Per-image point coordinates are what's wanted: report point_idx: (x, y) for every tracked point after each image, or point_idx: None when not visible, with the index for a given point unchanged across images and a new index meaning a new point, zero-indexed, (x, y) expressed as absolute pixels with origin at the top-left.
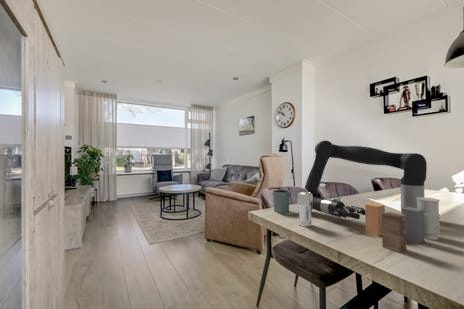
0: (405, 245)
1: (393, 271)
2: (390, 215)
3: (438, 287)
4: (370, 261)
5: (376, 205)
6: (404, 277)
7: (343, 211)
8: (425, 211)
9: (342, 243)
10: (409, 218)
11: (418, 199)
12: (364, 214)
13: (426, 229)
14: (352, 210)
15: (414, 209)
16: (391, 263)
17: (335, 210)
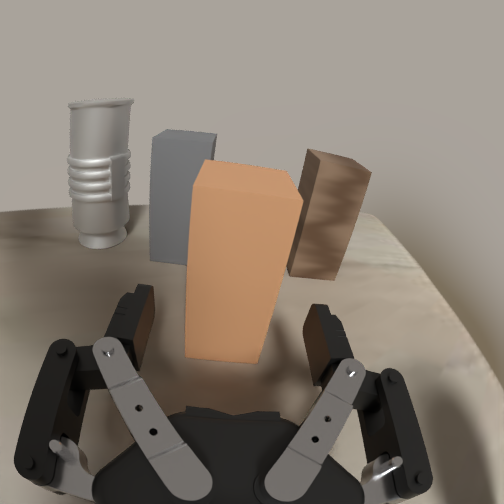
0: None
1: (398, 248)
2: (360, 165)
3: (368, 220)
4: (416, 272)
5: (259, 173)
6: (393, 239)
7: (390, 398)
8: (127, 142)
9: (436, 340)
10: None
11: (117, 102)
12: (143, 348)
13: (128, 205)
14: (214, 412)
15: (191, 134)
16: (382, 254)
17: (425, 468)
